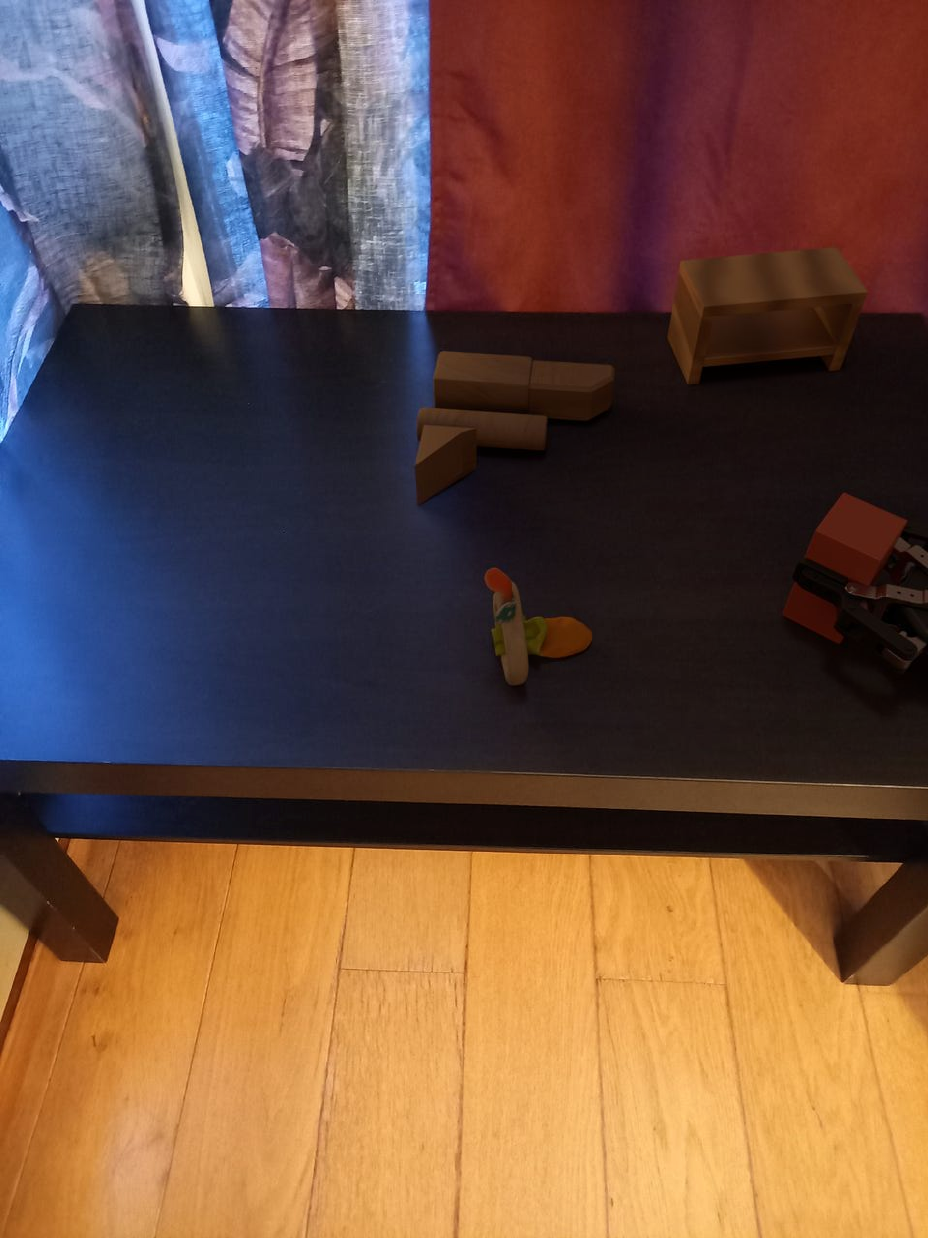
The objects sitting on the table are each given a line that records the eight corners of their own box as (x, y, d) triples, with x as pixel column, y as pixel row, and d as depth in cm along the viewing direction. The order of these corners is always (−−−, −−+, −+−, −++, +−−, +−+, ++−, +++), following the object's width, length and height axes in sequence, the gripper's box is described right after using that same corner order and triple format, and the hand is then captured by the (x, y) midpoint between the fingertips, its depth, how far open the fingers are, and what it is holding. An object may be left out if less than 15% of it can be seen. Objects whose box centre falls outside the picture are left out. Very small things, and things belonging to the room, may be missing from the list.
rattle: (588, 708, 71) (603, 614, 62) (481, 697, 72) (480, 603, 63) (592, 630, 76) (606, 532, 67) (491, 621, 77) (492, 523, 68)
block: (864, 605, 77) (908, 520, 69) (839, 644, 75) (881, 560, 67) (808, 578, 79) (843, 491, 71) (781, 615, 77) (815, 530, 69)
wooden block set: (429, 340, 91) (616, 351, 90) (432, 387, 96) (610, 399, 94) (401, 457, 81) (612, 472, 79) (405, 504, 85) (605, 519, 84)
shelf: (812, 324, 101) (837, 246, 94) (840, 370, 96) (868, 291, 89) (667, 337, 100) (680, 260, 93) (687, 384, 95) (703, 306, 88)
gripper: (1093, 556, 67) (865, 459, 74) (1028, 690, 60) (783, 569, 67) (1044, 621, 73) (837, 526, 80) (980, 749, 66) (759, 633, 73)
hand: (813, 546), depth 73 cm, fingers closed on block, 5 cm apart
